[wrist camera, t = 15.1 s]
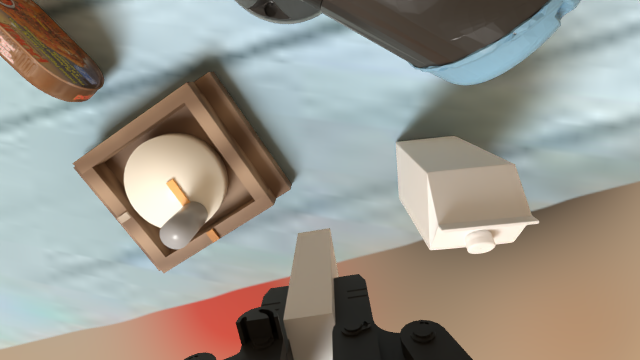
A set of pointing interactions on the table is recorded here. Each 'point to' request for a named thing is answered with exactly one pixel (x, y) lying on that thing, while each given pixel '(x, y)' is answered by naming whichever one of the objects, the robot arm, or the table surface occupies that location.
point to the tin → (46, 53)
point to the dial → (176, 185)
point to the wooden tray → (212, 127)
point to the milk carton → (460, 194)
